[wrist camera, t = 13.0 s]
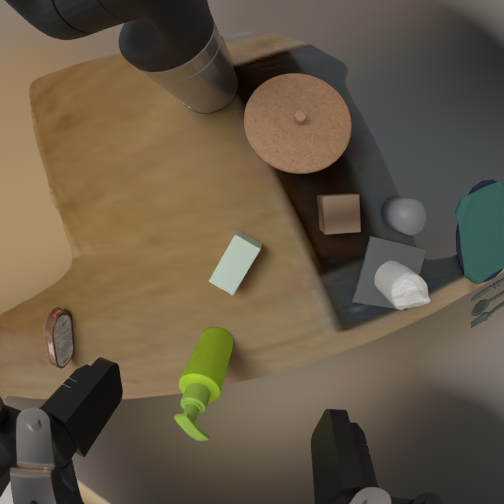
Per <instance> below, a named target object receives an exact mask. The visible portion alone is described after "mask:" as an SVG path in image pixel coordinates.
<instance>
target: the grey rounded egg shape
mask: <svg viewBox="0 0 504 504" xmlns="http://www.w3.org/2000/svg"><path fill="white" fill-rule="evenodd" d="M381 215H382V219H383V221H384V223H385V224H386V225H387V226H388V227H390V228H393V229H395V230H397V231H400V232H402V233H404V234H407V235H416V234H418V233H419V232H421V230H422V229H423V228H424V226H425V223H426V211H425V208H424V206H423V205H422V204H421V203H420V202H419V201H417V200H414V199H408V198H401V197H391V198H389V199H387V200H386V201H385V202H384V204H383V206H382V210H381Z"/></svg>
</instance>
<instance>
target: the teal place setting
mask: <svg viewBox="0 0 504 504" xmlns="http://www.w3.org/2000/svg"><path fill="white" fill-rule="evenodd" d="M455 214H456V218H457V221H458V224H457V230H456V248H457V249H456V251H457V254H458V258H459V262H460V265H461V267H462V269H463V270H464V276H465V277H466V278H469V280H471V281H472V282H474V283H475V284H479V283H481V282H486V281H488V280H491V279H493V278H494V277H496V276H497V275H498V274H499V273H500V272H501V271H502V270H503V268H504V184H503V183H502V182H501V181H498V182H497V181H495V180H487V181H481V182H480V183H479V184H477V185H476V186H475V187H474V188H472V190H471V191H470V193H469V194H468V195H467V196H464V197H463V198H461V199H460V201H459V203H458V205H457V208H456V211H455ZM502 281H504V278H503V279H502V280H499V281H497V282H496V283H493V285H491V286H489V287H487V288H485V289H484V290H482V291H481V292H479V293H477V294H476V295H475V296H474V297H473V298H472V299H471V301H473V300H475V299H477V298H478V297H480V296H481V295H483V294H484V293H486V292H488V291H489V290H491V289H492V288H496V286H499V285H500V283H501V282H502ZM503 294H504V290H503V291H502V292H501V293H500V294H498V295H496V296H495V297H493V298H492V299H490V300H487V299H484V300H481V301H480V302H479V303H478V304H476V306H475V307H474V309H473V310H472V316H477V315H479V314H481V313H482V312H483V311H484V310H485V309H486V308H487V306H488V305H489V302H490V301H492V300H494V299H496V298H498V297H500V296H501V295H503ZM502 306H504V302H502V303H501V304H499V305H498V306H496V307H495V308H494V309H493V310H492V311H490V312H484V313H483V314H481V315H480V316H479V317H478V318H476V319H475V320H473V321H472V322H471V323H472V324H471V325H472V326H471V328H472V327H473V326H475V325H477V324H479V323H481V322H483V321H485V320H487V318H488V317H490V315H491V314H493V313H494V312H495V311H496V310H498V309H499V308H501V307H502ZM474 321H475V322H474Z"/></svg>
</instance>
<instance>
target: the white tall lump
mask: <svg viewBox="0 0 504 504" xmlns="http://www.w3.org/2000/svg"><path fill="white" fill-rule="evenodd" d="M374 281H375V285H376V287H377V289H378V290H380V291H381V292H382V293H383V295H384V296H385V297H386V298H387V299H388V300H389V301H390V302H391V303H392V304H393V306H394V307H395V308H397V309H400V310H403V309H406V308H410V307H415V306H417V307H420V306H422V305H424V304H428V303H429V302H430V298H429V297H428V288H427V284H426V283H425V281H424V280H423V279H422V278H421V277H420V276H419V275H417V274H416V273H415V272H413V271H412V270H411V269H410V268H408V267H406V266H405V265H403V264H400V263H399V262H396V261H388V262H385V263H384V264H382V265H381V266H380V267H379V269H378V270H377V272H376V274H375V279H374Z"/></svg>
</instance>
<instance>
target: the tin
mask: <svg viewBox="0 0 504 504" xmlns="http://www.w3.org/2000/svg"><path fill="white" fill-rule="evenodd" d="M44 337H45V343H46V349H47V355H48V360H49V362H50V363H51V364H52V365H55V366H56V367H58V368H64V367H65V366H66V365H67V364H68V362H69V361H70V360H71V357H72V354H73V349H74V344H73V332H72V319H71V316H70V314H69V313H68V312H66V311H64V310H62V309H61V308H54V309H53V310H52V311H51V312H50V313H49V314H48V316H47V318H46V321H45V324H44Z"/></svg>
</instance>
